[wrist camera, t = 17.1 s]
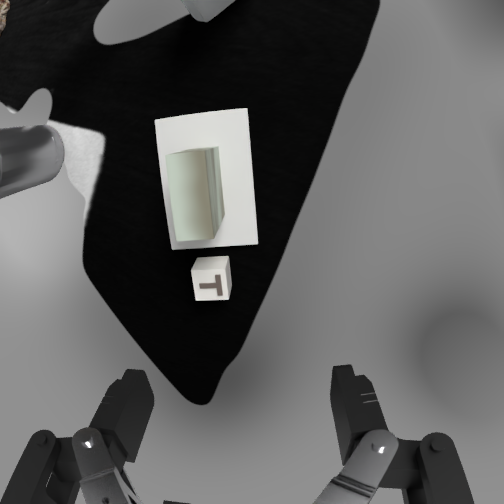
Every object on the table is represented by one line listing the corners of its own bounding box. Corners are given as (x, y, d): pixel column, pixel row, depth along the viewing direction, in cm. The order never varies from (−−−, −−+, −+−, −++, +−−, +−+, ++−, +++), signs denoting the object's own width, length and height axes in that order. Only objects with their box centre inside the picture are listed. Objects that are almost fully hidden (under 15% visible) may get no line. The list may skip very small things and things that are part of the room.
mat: (173, 247, 45) (172, 249, 44) (156, 120, 39) (154, 120, 38) (258, 242, 44) (257, 244, 44) (247, 108, 38) (246, 108, 37)
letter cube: (201, 285, 47) (195, 301, 43) (197, 257, 46) (190, 271, 41) (231, 284, 47) (228, 300, 43) (228, 255, 45) (225, 269, 41)
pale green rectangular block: (195, 216, 42) (176, 241, 33) (187, 149, 39) (165, 155, 30) (224, 214, 42) (214, 238, 33) (218, 146, 39) (204, 150, 30)
